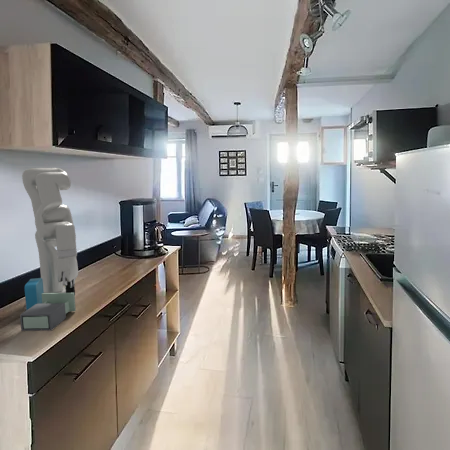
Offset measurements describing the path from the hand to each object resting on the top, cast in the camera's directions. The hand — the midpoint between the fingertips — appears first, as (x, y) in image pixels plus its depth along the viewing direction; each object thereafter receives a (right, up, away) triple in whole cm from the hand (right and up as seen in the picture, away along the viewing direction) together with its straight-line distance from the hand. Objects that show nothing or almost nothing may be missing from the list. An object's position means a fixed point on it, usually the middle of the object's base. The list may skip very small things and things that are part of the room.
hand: (70, 296), depth 163 cm
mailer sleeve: (-3, -7, -18) cm, 19 cm away
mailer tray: (-3, -6, -14) cm, 16 cm away
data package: (-14, -6, 0) cm, 15 cm away
